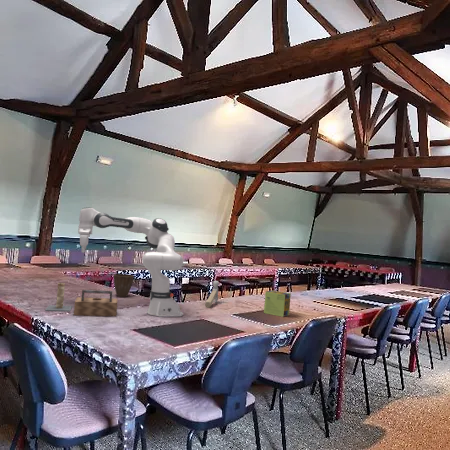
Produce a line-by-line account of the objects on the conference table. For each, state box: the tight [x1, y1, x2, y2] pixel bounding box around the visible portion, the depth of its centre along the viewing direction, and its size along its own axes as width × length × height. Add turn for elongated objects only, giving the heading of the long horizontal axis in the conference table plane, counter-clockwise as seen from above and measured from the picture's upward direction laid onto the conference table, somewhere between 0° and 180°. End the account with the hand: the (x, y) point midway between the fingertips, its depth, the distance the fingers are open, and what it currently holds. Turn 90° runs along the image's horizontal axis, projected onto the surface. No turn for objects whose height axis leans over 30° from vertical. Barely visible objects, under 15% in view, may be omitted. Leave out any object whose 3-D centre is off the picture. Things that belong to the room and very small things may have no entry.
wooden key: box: [55, 282, 66, 308], centre depth 259 cm, size 4×4×15 cm
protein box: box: [263, 290, 292, 318], centre depth 298 cm, size 10×15×16 cm
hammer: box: [204, 280, 220, 309], centre depth 314 cm, size 16×5×30 cm
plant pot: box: [113, 273, 135, 298], centre depth 318 cm, size 15×15×16 cm
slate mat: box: [45, 304, 73, 312], centre depth 259 cm, size 14×14×1 cm
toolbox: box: [73, 289, 118, 317], centre depth 254 cm, size 24×14×14 cm, turn 104°
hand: (83, 252), depth 280 cm, fingers open, 8 cm apart
